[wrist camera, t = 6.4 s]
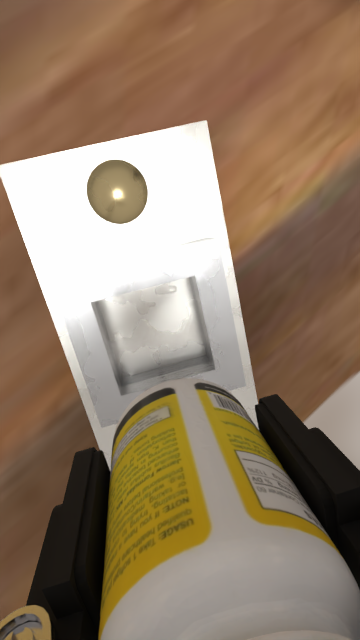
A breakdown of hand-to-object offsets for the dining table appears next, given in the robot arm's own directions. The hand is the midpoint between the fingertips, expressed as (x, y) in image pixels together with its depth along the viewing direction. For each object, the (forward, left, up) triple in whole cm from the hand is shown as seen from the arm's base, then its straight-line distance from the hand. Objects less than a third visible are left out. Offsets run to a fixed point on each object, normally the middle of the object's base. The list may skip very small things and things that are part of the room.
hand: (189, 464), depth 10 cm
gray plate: (0, 0, -17) cm, 17 cm away
